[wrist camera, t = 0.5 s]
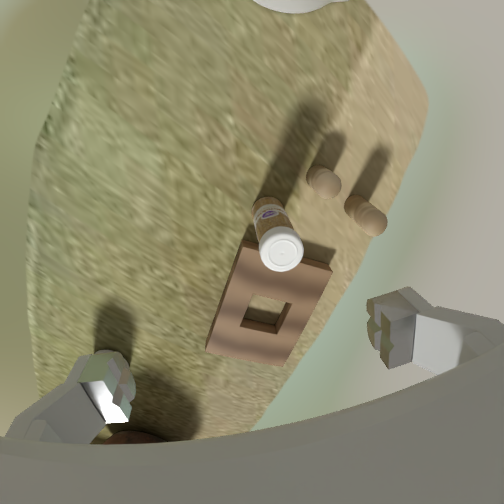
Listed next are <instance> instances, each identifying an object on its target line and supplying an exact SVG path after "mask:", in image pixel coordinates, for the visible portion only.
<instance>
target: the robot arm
mask: <svg viewBox="0 0 504 504" xmlns="http://www.w3.org/2000/svg"><path fill="white" fill-rule="evenodd" d="M253 1H255V2H256V3H258V4H260V5H262V6H264V7H266V8H269V9H271V10H275V11H278V12H284V13H305V12H310V11H314V10H316V9H319V8H321V7H323V6H325V5H327V4H329V3H331V2H343V1H349V0H253ZM367 312H368V313H369V315H370V316H371V317H370V319H369V320H368V322H367V331H368V336H369V339H370V342H371V344H372V346H373V347H374V348H375V349H376V350H379V351H380V358H381V359H382V361H383V362H384V364H385V365H386V367H387V368H388V369H391V368H395V367H397V366H401V365H404V364H406V363H409V362H412V363H414V364H416V365H418V366H420V367H422V368H424V369H426V370H428V371H430V372H432V373H434V374H436V375H437V376H434V377H432V378H430V379H427V380H425V381H423V382H420V383H418V384H415V385H413V386H410V387H408V388H405V389H403V390H400V391H397V392H395V393H392V394H389V395H386V396H383V397H381V398H378V399H375V400H372V401H369V402H366V403H363V404H360V405H357V406H353V407H350V408H347V409H343V410H340V411H336V412H333V413H329V414H326V415H322V416H318V417H315V418H310V419H307V420H303V421H298V422H294V423H290V424H285V425H281V426H276V427H271V428H267V429H262V430H256V431H251V432H245V433H239V434H233V435H227V436H220V437H212V438H205V439H196V440H187V441H176V442H164V443H147V444H115V445H100V444H90V443H91V441H92V440H93V439H94V438H95V437H96V436H97V435H98V433H99V432H100V431H101V430H102V429H103V428H104V427H105V425H106V423H116V422H128V420H129V416H130V413H131V409H132V407H131V405H130V402H131V401H132V400H133V399H134V398H135V394H136V384H135V381H134V377H133V375H132V373H131V372H130V371H129V370H127V369H126V368H125V367H124V365H125V362H126V361H125V360H124V358H123V356H122V354H121V353H119V352H109V353H100V354H90V355H82V356H80V357H78V359H77V361H76V363H75V365H74V366H73V368H72V370H71V372H70V374H69V376H68V377H67V379H66V381H65V383H64V384H60V385H59V386H57V387H56V388H55V389H53V390H52V391H51V392H49V393H48V394H46V395H45V396H44V397H42V398H41V399H40V400H38V401H37V402H36V403H34V404H33V405H32V406H30V407H29V408H27V409H26V410H25V411H23V412H22V413H20V414H19V415H18V416H17V417H15V419H14V421H13V422H12V424H11V426H10V428H9V430H8V432H7V433H6V435H5V437H1V436H0V504H504V324H502V323H501V322H500V321H499V320H497V319H492V318H488V317H483V316H479V315H474V314H470V313H465V312H461V311H457V310H452V309H448V308H443V307H439V306H437V307H433V306H432V305H431V304H429V303H428V302H427V301H426V300H425V299H424V298H423V297H421V296H420V295H419V294H418V293H417V292H416V291H415V290H413V289H412V288H411V287H404V288H402V289H399V290H396V291H393V292H390V293H387V294H384V295H381V296H377V297H374V298H371V299H368V300H367Z"/></svg>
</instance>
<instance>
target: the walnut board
mask: <svg viewBox="0 0 504 504" xmlns="http://www.w3.org/2000/svg"><path fill="white" fill-rule="evenodd" d="M332 273H333V271H332V270H331V268H330V266H329V265H328V264H325V263H322V262H318V261H315V260H312V259H308V258H305V257H302V259H301V261H300V262H299V264H298V265H297V266H295V267H294V268H292V269H290V270H288V271H283V272H278V271H274V270H271V269H269V268H268V267H267V266H265V264H264V263H263V261H262V259H261V256H260V252H259V244H256V243H253V242H250V241H246V240H243V239H242V241H241V244H240V247H239V249H238V252H237V255H236V258H235V260H234V263H233V266H232V269H231V272H230V275H229V277H228V280H227V283H226V286H225V289H224V291H223V294H222V297H221V300H220V303H219V306H218V308H217V311H216V314H215V317H214V320H213V323H212V325H211V328H210V331H209V334H208V337H207V340H206V346H205V352H209V353H213V354H218V355H222V356H227V357H232V358H237V359H242V360H247V361H252V362H258V363H263V364H269V365H275V366H281V367H283V366H284V364H285V362H286V360H287V358H288V357H289V355H290V353H291V351H292V350H293V348H294V346H295V344H296V342H297V340H298V339H299V337H300V335H301V333H302V331H303V329H304V327H305V326H306V324H307V322H308V320H309V318H310V316H311V314H312V312H313V310H314V309H315V307H316V305H317V303H318V301H319V299H320V297H321V295H322V293H323V291H324V289H325V287H326V285H327V283H328V281H329V279H330V277H331V275H332ZM253 294H255V295H259V296H263V297H267V298H271V299H275V300H280V301H284V302H286V304H285V306H284V308H283V310H282V312H281V314H280V316H279V318H278V321H277V323H276V325H271V324H266V323H262V322H257V321H253V320H249V319H244V318H243V317H244V314H245V312H246V310H247V307H248V305H249V302H250V300H251V297H252V295H253Z"/></svg>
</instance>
